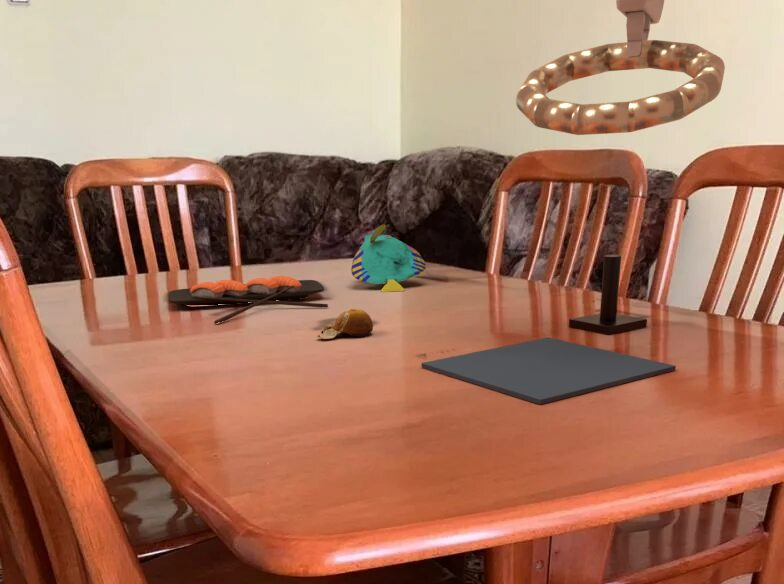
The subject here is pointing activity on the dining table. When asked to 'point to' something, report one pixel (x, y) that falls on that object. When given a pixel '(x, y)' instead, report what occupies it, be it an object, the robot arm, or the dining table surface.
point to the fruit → (349, 324)
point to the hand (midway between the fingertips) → (635, 58)
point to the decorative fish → (386, 261)
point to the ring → (621, 114)
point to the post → (609, 305)
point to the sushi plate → (248, 293)
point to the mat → (547, 369)
